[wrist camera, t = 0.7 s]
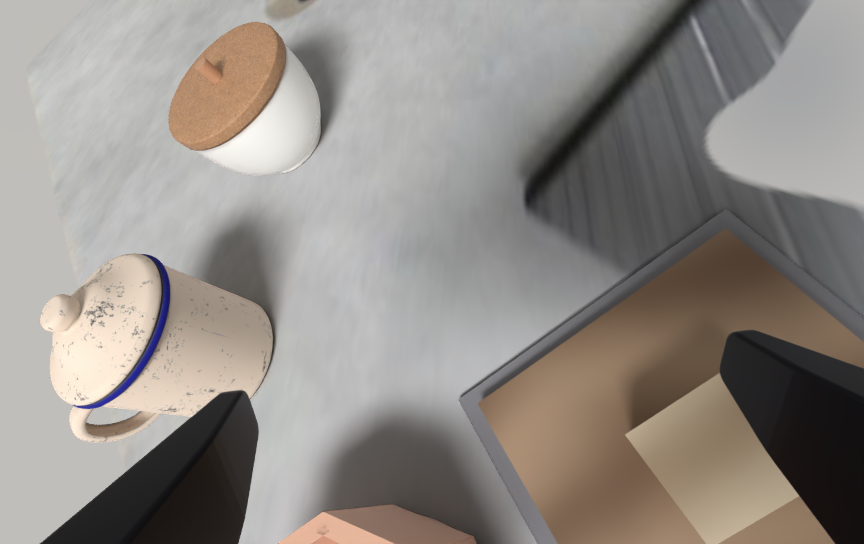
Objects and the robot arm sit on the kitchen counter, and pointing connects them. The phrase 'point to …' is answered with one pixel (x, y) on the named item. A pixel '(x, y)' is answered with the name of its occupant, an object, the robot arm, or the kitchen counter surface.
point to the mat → (707, 231)
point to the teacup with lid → (151, 345)
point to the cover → (664, 412)
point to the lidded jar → (248, 104)
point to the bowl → (376, 528)
